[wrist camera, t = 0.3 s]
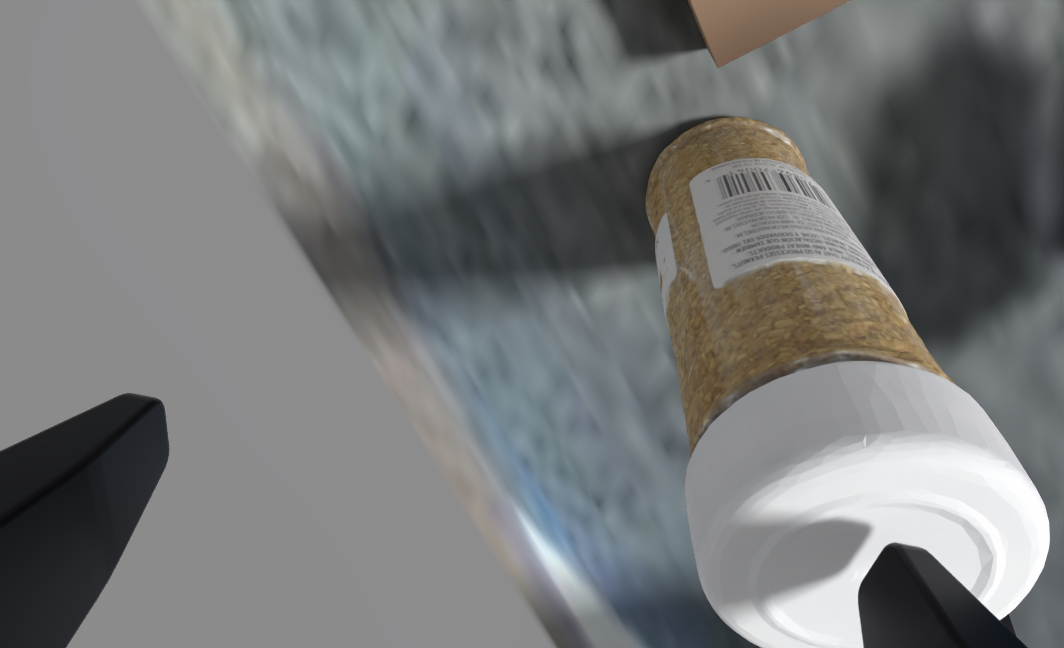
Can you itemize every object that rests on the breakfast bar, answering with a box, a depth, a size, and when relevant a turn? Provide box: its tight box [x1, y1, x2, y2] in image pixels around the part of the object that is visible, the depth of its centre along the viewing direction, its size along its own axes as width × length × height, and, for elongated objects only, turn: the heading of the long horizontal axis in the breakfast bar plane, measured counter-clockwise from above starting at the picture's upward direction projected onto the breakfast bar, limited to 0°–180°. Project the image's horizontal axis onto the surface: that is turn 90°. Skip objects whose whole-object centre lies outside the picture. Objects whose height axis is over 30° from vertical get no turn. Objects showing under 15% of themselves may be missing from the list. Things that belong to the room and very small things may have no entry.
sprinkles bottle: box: [645, 117, 1050, 648], centre depth 15 cm, size 5×5×13 cm
